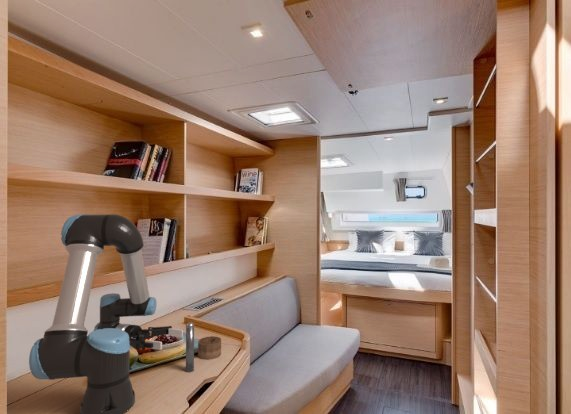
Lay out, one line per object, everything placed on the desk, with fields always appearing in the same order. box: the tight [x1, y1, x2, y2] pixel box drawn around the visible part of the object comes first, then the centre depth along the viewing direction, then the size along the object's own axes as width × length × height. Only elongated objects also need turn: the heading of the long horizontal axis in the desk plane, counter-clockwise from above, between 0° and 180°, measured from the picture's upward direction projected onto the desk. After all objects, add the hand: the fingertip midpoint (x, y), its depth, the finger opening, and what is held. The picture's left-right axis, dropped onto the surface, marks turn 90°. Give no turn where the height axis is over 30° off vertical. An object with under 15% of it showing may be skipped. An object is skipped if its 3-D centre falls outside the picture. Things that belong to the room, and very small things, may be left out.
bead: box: [197, 335, 222, 361], centre depth 139 cm, size 10×10×6 cm
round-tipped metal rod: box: [185, 321, 195, 373], centre depth 125 cm, size 3×3×18 cm
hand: (172, 339), depth 128 cm, fingers open, 13 cm apart
